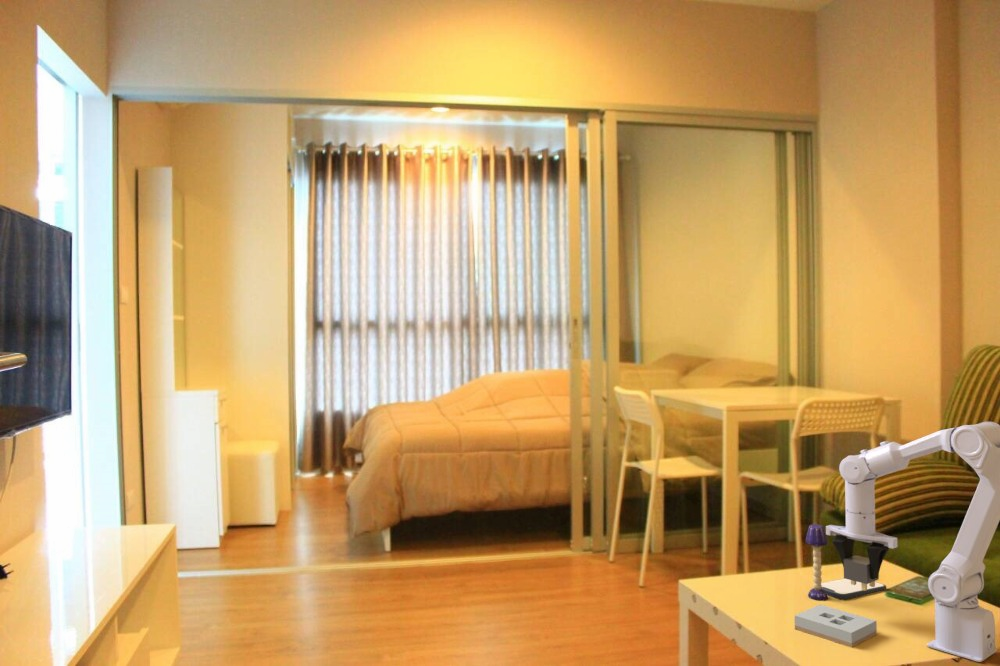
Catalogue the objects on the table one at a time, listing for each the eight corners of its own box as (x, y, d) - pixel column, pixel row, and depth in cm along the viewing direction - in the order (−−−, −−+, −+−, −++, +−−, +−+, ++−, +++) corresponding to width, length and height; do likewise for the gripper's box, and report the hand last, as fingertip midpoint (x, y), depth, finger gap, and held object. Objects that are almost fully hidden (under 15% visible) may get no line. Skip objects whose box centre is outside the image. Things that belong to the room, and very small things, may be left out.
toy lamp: (830, 601, 171) (829, 528, 171) (808, 600, 172) (807, 527, 172) (825, 594, 176) (824, 523, 176) (804, 593, 177) (803, 522, 177)
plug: (878, 586, 160) (878, 560, 160) (867, 591, 157) (866, 564, 157) (855, 580, 164) (855, 555, 164) (844, 585, 161) (843, 559, 161)
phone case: (856, 581, 187) (810, 590, 180) (856, 575, 187) (810, 584, 180) (889, 592, 179) (842, 602, 172) (889, 585, 179) (842, 595, 172)
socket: (876, 634, 152) (876, 620, 152) (851, 647, 146) (851, 632, 146) (820, 617, 162) (820, 604, 162) (794, 628, 156) (794, 615, 156)
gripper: (903, 514, 157) (905, 579, 157) (837, 502, 169) (838, 563, 169) (887, 519, 153) (888, 586, 153) (820, 507, 165) (821, 569, 165)
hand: (861, 574), depth 161 cm, fingers closed on plug, 5 cm apart
